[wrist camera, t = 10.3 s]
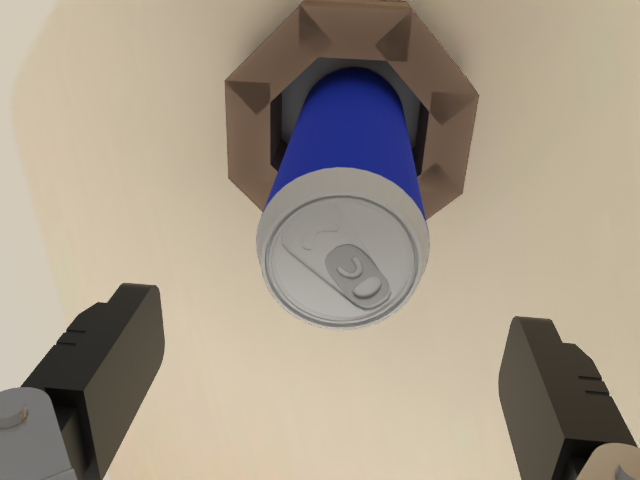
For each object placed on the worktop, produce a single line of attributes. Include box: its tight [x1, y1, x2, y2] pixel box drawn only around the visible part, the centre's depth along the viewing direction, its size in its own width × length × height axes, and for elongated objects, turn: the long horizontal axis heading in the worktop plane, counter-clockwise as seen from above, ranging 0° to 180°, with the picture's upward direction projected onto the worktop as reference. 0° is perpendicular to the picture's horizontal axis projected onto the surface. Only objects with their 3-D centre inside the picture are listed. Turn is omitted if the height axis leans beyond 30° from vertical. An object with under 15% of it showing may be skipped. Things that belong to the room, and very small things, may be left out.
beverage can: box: [256, 68, 430, 330], centre depth 23 cm, size 5×5×15 cm
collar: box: [225, 0, 479, 220], centre depth 28 cm, size 11×11×5 cm
